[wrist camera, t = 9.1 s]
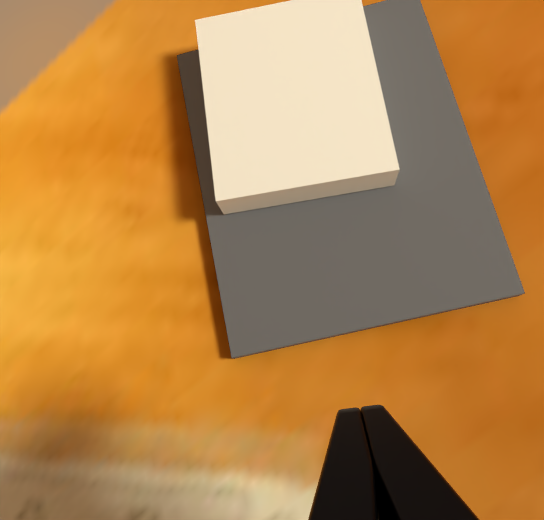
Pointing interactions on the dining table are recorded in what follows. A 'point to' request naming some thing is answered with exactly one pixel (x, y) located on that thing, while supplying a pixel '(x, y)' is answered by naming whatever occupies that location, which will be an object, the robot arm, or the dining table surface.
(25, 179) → the dining table surface
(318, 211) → the mat
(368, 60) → the tile
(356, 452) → the robot arm
